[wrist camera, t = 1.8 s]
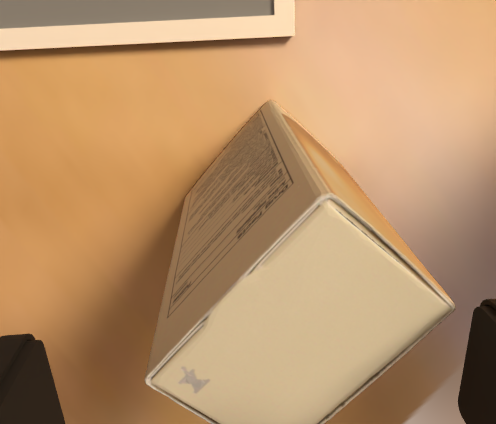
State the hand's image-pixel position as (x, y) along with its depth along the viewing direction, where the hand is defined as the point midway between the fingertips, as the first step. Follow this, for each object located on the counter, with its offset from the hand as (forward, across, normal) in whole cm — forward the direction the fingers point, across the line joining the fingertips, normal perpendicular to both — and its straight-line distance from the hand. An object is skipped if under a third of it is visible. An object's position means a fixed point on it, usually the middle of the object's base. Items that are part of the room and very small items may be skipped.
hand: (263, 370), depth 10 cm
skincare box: (+13, -1, 0) cm, 13 cm away
